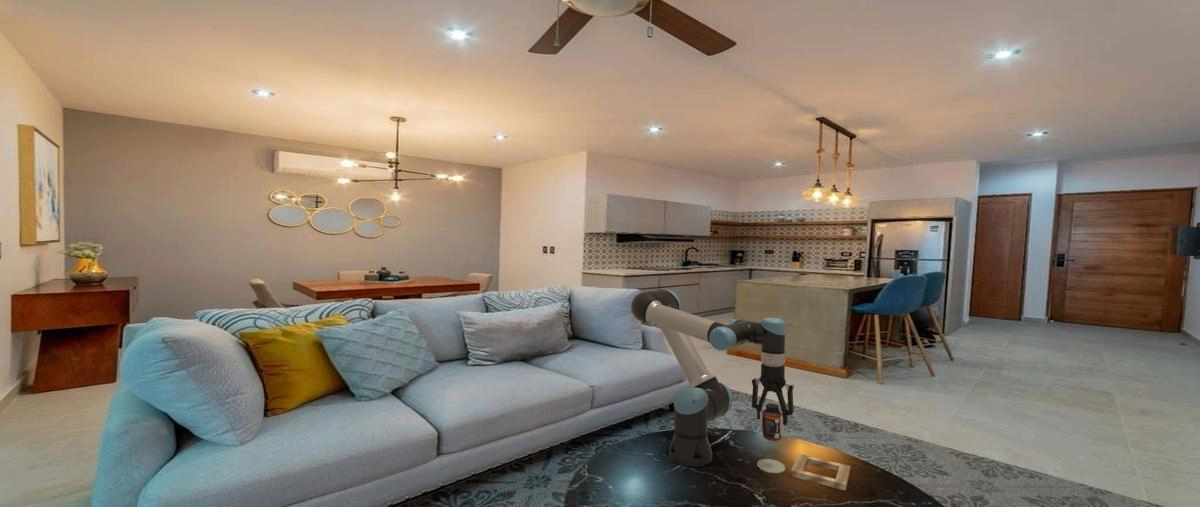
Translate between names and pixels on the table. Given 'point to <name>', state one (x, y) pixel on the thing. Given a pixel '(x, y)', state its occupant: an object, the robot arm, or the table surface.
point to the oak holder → (835, 483)
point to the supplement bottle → (771, 422)
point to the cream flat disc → (771, 466)
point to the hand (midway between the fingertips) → (772, 431)
